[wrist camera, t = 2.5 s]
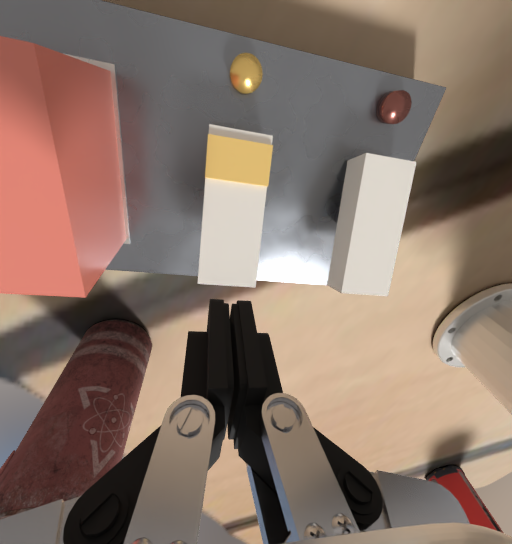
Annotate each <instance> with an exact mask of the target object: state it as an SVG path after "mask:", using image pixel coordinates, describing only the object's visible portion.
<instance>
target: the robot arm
mask: <svg viewBox="0 0 512 544" xmlns="http://www.w3.org/2000/svg"><path fill="white" fill-rule="evenodd" d="M433 349H434V352H435V354H436V355H437V356H438V357H439V359H440V360H441V361H442V362H443V363H445V364H447V365H449V366H454V367H466V368H467V369H468V370H469V371H470V372H471V373H472V374H473V375H474V376H475V377H476V378H477V379H478V380H479V381H480V382H481V383H482V384H483V385H484V386H485V387H486V388H487V390H488V391H489V392H490V393H491V394H492V395H493V396H494V397H495V398H496V399H497V400H498V401H499V402H500V403H501V404H502V405H503V406H504V407H505V408H506V409H507V410H508V411H509V412H510V413H511V414H512V283H509V284H503V285H499V286H495V287H492V288H489V289H486V290H484V291H481V292H479V293H478V294H476V295H474V296H472V297H470V298H469V299H467V300H466V301H464V302H462V303H461V304H460V305H459V306H457V307H456V308H455V309H454V310H452V311H451V312H450V313H449V315H448V316H447V317H446V318H445V319H444V320H443V321H442V323H441V324H440V325H439V327H438V329H437V331H436V333H435V336H434V339H433ZM227 423H228V439H234V449H238V452H239V456H240V457H241V458H242V459H243V460H244V461H245V462H246V465H247V472H248V477H249V481H250V486H251V490H252V495H253V500H254V504H255V509H256V513H257V518H258V522H259V527H260V531H261V536H262V540H263V544H512V537H511V536H508V535H506V534H504V533H502V532H499V531H496V530H493V529H490V528H487V527H483V526H478V525H473V524H470V523H469V521H468V518H467V516H466V514H465V512H464V510H463V508H462V506H461V505H460V503H459V501H458V500H457V499H456V498H455V497H454V495H453V494H452V493H451V492H450V491H449V490H447V489H446V488H445V487H443V486H442V485H440V484H438V483H435V482H432V481H427V480H422V479H417V478H412V477H408V476H403V475H398V474H393V473H388V472H383V471H378V470H377V471H376V472H375V473H374V472H369V471H368V470H367V469H366V468H365V467H364V466H362V465H361V464H360V463H358V462H357V461H356V460H355V459H353V458H352V457H351V456H350V455H348V454H347V453H346V452H344V451H343V450H342V449H341V448H339V447H338V446H337V445H335V444H334V443H333V442H332V441H330V440H329V439H328V438H326V437H325V436H324V435H323V434H321V433H320V432H319V431H317V430H316V429H315V428H314V427H313V426H312V424H311V421H310V419H309V417H308V415H307V413H306V410H305V409H304V407H303V405H302V404H301V403H300V402H299V401H298V400H297V399H296V398H294V397H293V396H291V395H289V394H285V393H283V391H282V387H281V383H280V379H279V375H278V370H277V366H276V362H275V358H274V354H273V350H272V345H271V341H270V337H269V335H268V333H257V330H256V325H255V320H254V314H253V309H252V304H251V301H237V304H232V307H231V314H230V317H229V304H227V303H224V300H218V299H210V304H209V314H208V325H207V332H194V331H189V332H188V339H187V347H186V356H185V365H184V373H183V382H182V390H181V398H179V399H177V400H176V401H174V402H173V403H172V404H171V405H170V406H169V408H168V409H167V411H166V413H165V416H164V419H163V422H162V425H161V426H160V427H159V428H158V429H156V430H155V431H154V432H153V433H152V434H151V435H149V436H148V437H147V438H146V439H145V440H144V441H143V442H141V443H140V444H139V445H138V446H137V447H136V448H135V449H133V450H132V451H131V452H130V453H129V454H128V455H127V456H125V457H124V458H123V459H122V460H121V461H120V462H119V463H117V464H116V465H115V466H114V467H113V468H112V469H111V470H109V471H108V472H107V473H106V474H105V475H104V476H103V477H101V478H100V479H99V480H98V481H97V482H96V483H94V484H93V485H92V486H91V487H90V488H89V489H88V490H86V491H85V492H84V494H83V495H82V496H80V497H77V498H74V499H71V500H68V501H65V502H64V501H63V499H61V500H58V501H55V502H52V503H49V504H46V505H43V506H40V507H37V508H34V509H31V510H28V511H25V512H22V513H19V514H16V515H13V516H10V517H7V518H4V519H1V520H0V544H197V540H198V533H199V526H200V519H201V513H202V506H203V499H204V493H205V486H206V479H207V472H208V470H209V469H210V468H211V467H212V465H213V464H214V463H215V462H216V461H217V459H218V458H219V457H220V451H221V446H222V441H223V440H224V438H225V432H226V427H227Z"/></svg>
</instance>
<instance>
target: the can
mask: <svg viewBox="0 0 512 544" xmlns="http://www.w3.org/2000/svg"><path fill="white" fill-rule="evenodd" d="M151 349H152V343H151V339H150V337H149V335H148V334H147V333H146V331H145V330H144V329H143V328H142V327H140V326H139V325H137V324H135V323H133V322H130V321H127V320H121V319H112V320H106V321H103V322H100V323H97V324H95V325H93V326H92V327H91V328H89V329H88V330H87V331H86V333H85V335H84V336H83V338H82V340H81V341H80V343H79V345H78V346H77V348H76V350H75V352H74V353H73V355H72V357H71V358H70V360H69V362H68V363H67V365H66V367H65V369H64V370H63V372H62V374H61V375H60V377H59V379H58V380H57V382H56V384H55V385H54V387H53V389H52V391H51V392H50V394H49V396H48V397H47V399H46V401H45V402H44V404H43V406H42V407H41V409H40V411H39V413H38V414H37V416H36V418H35V419H34V421H33V423H32V425H31V426H30V428H29V430H28V431H27V433H26V435H25V436H24V438H23V440H22V441H21V443H20V445H19V447H18V448H17V450H16V452H15V451H13V452H12V453H11V455H10V456H9V457H8V459H7V460H6V462H5V463H4V465H3V466H2V467H1V468H0V520H1V519H4V518H7V517H10V516H13V515H16V514H19V513H22V512H25V511H28V510H31V509H34V508H37V507H40V506H43V505H46V504H49V503H52V502H55V501H58V500H61V499H63V501H64V502H65V501H68V500H71V499H74V498H77V497H80V496H82V495H83V494H84V492H85V491H86V490H88V489H89V488H90V487H91V486H92V485H93V484H94V483H96V482H97V481H98V480H99V479H100V478H101V477H103V476H104V475H105V474H106V473H107V472H108V471H109V470H111V469H112V468H113V467H114V466H115V465H116V464H117V463H119V462H120V461H121V459H122V456H123V452H124V448H125V445H126V441H127V437H128V434H129V430H130V426H131V423H132V419H133V415H134V412H135V408H136V404H137V401H138V397H139V394H140V390H141V386H142V383H143V379H144V375H145V372H146V368H147V364H148V361H149V357H150V353H151Z"/></svg>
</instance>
